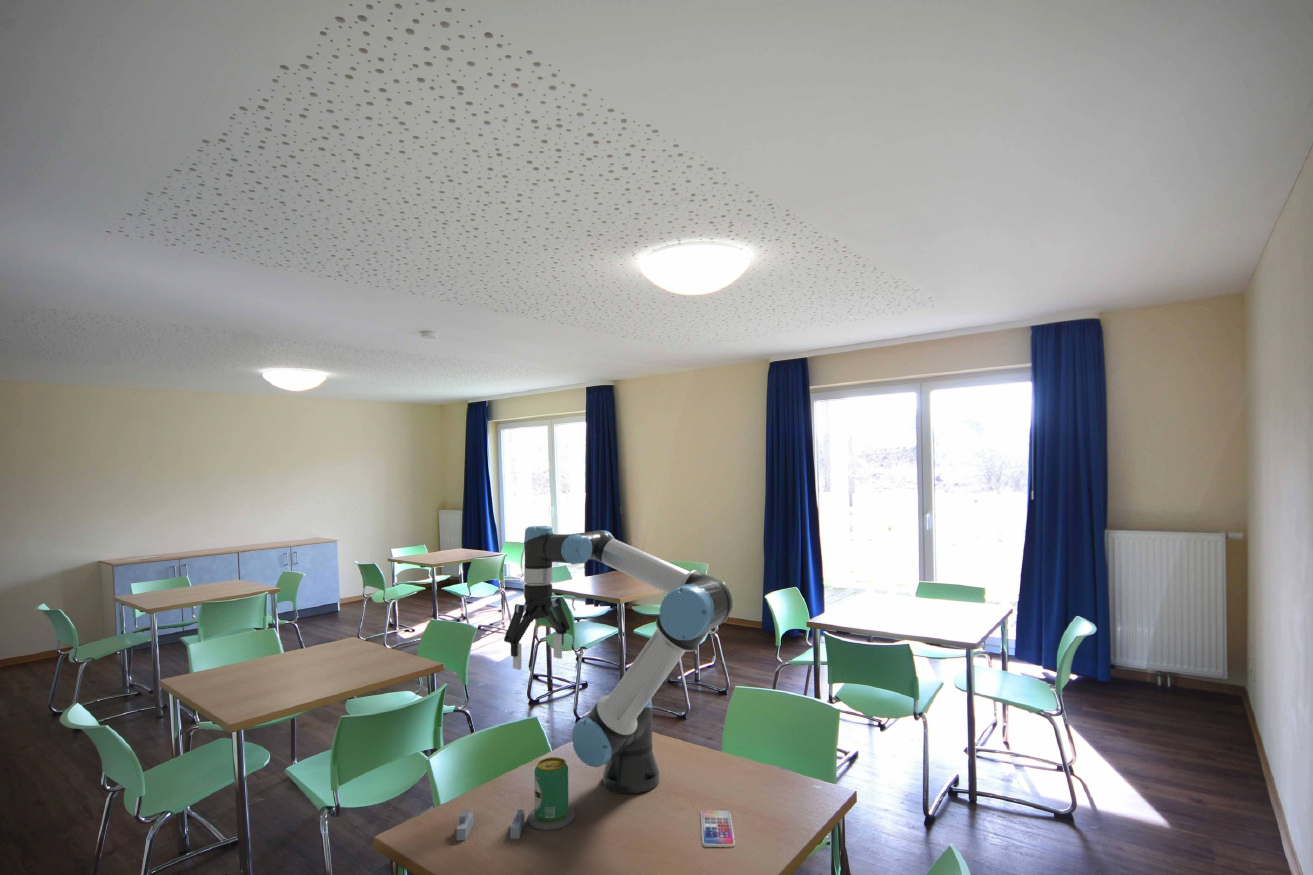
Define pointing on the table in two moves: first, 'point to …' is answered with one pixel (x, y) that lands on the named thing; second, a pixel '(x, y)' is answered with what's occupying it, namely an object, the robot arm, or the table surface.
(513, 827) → the twin notched blocks
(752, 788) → the table surface
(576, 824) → the table surface
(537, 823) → the coaster
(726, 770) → the table surface
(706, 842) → the smartphone
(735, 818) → the table surface
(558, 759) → the beverage can
